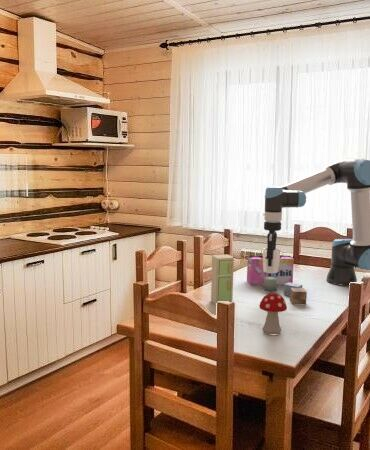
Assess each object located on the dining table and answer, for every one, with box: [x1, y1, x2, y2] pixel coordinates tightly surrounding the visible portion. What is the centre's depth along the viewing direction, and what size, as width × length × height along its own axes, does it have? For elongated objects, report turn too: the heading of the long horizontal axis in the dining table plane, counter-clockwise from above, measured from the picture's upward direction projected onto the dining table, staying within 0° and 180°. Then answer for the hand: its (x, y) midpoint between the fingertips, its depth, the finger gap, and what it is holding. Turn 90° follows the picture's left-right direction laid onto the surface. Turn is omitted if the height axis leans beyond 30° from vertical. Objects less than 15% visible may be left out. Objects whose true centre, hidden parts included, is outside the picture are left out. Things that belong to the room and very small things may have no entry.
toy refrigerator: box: [210, 254, 235, 305], centre depth 198 cm, size 8×7×21 cm
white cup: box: [262, 247, 281, 273], centre depth 205 cm, size 8×8×10 cm
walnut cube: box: [289, 287, 308, 305], centre depth 202 cm, size 6×6×6 cm
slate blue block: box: [283, 282, 303, 296], centre depth 215 cm, size 7×5×5 cm
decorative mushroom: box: [259, 292, 288, 335], centre depth 165 cm, size 10×9×15 cm
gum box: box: [246, 255, 295, 286], centre depth 234 cm, size 24×8×14 cm, turn 97°
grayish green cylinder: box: [263, 277, 278, 293], centre depth 221 cm, size 6×6×6 cm
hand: (270, 270), depth 206 cm, fingers closed on white cup, 7 cm apart
